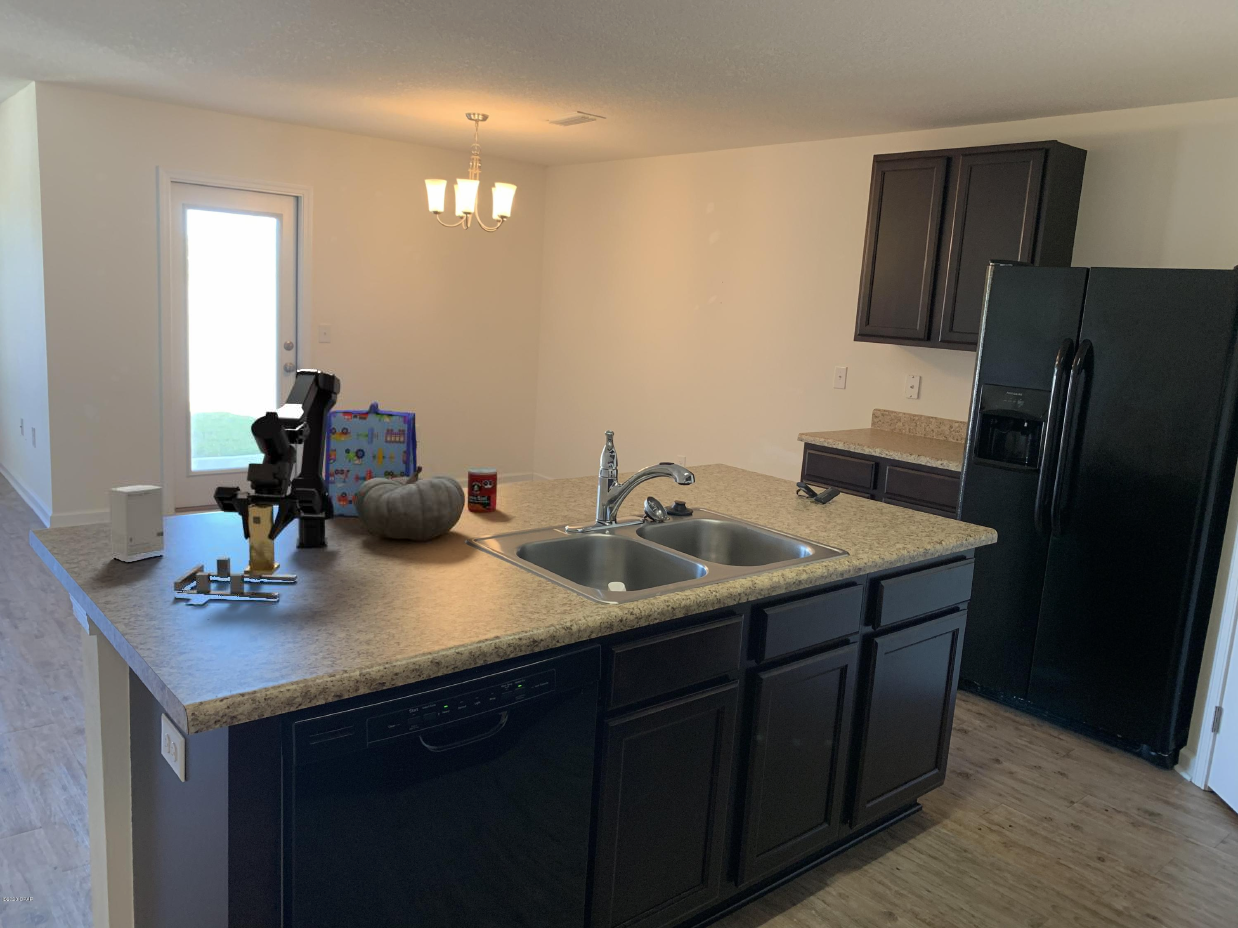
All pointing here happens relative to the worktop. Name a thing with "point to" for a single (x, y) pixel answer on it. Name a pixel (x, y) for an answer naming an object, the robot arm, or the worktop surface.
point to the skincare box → (136, 519)
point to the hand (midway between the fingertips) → (258, 538)
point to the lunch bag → (366, 451)
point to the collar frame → (224, 572)
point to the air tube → (261, 540)
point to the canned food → (482, 489)
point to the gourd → (410, 506)
